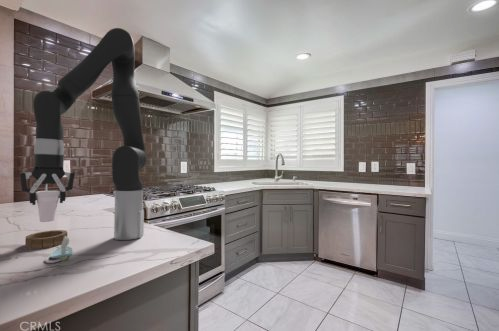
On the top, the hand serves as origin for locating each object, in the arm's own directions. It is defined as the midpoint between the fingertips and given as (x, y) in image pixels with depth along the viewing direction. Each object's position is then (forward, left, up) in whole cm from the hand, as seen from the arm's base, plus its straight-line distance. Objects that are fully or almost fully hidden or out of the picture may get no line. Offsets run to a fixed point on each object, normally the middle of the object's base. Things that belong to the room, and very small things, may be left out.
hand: (47, 203), depth 79 cm
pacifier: (-11, +16, -14) cm, 23 cm away
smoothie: (0, 0, -6) cm, 6 cm away
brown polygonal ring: (0, 0, -13) cm, 13 cm away
